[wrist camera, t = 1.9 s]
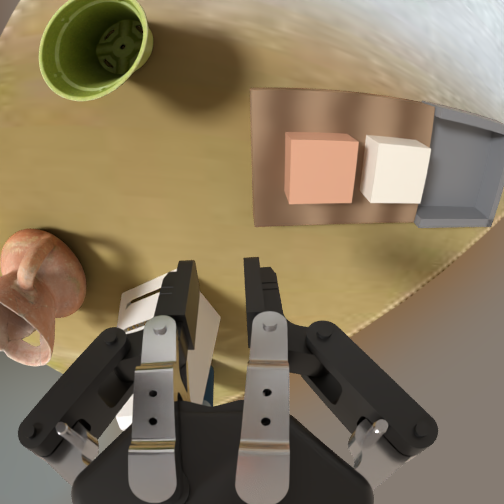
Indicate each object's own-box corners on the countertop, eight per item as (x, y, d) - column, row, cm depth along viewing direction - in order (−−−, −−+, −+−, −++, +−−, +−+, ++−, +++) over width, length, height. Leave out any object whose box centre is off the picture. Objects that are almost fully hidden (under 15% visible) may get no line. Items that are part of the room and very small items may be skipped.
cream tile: (416, 139, 26) (431, 148, 24) (407, 191, 30) (420, 203, 27) (366, 134, 26) (378, 143, 24) (359, 190, 30) (370, 203, 27)
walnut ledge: (420, 102, 27) (435, 106, 24) (403, 210, 35) (413, 222, 32) (249, 87, 26) (251, 90, 24) (253, 213, 34) (254, 227, 32)
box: (496, 120, 27) (516, 129, 24) (475, 212, 35) (490, 226, 32) (421, 100, 27) (441, 107, 23) (403, 211, 35) (418, 227, 32)
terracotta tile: (347, 133, 26) (358, 141, 24) (341, 190, 30) (351, 203, 27) (285, 132, 26) (291, 139, 24) (284, 191, 29) (289, 204, 27)
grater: (164, 336, 46) (147, 453, 30) (122, 293, 40) (83, 420, 24) (220, 317, 44) (219, 447, 27) (181, 267, 38) (156, 413, 22)
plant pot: (127, -11, 18) (92, -31, 11) (191, 39, 23) (173, 29, 16) (69, 57, 22) (21, 63, 15) (126, 107, 26) (91, 124, 19)
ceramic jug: (73, 317, 43) (47, 388, 31) (5, 272, 37) (-35, 335, 25) (114, 245, 36) (77, 329, 24) (29, 186, 30) (-37, 250, 18)
